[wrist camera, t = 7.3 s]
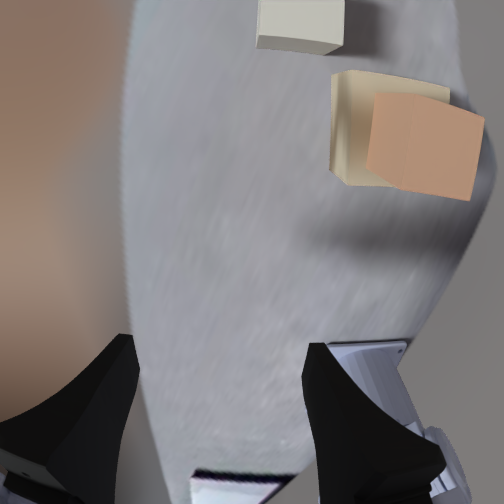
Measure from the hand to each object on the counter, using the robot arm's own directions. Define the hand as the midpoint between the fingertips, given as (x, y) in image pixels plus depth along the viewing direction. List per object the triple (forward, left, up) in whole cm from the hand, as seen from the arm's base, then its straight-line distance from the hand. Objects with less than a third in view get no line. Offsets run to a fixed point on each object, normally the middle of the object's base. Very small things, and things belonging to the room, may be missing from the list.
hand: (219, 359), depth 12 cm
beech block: (+9, -9, -10) cm, 16 cm away
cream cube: (+15, -3, -10) cm, 18 cm away
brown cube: (+9, -9, -6) cm, 14 cm away
